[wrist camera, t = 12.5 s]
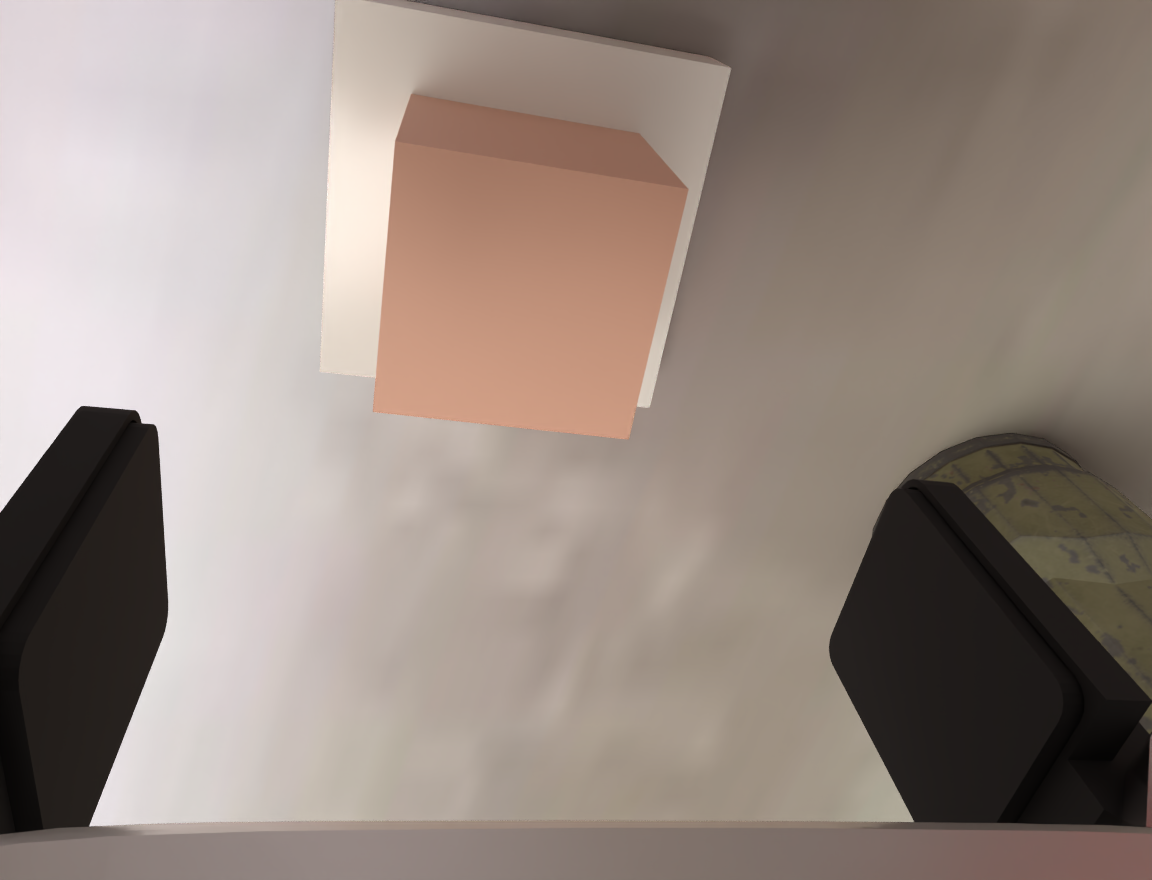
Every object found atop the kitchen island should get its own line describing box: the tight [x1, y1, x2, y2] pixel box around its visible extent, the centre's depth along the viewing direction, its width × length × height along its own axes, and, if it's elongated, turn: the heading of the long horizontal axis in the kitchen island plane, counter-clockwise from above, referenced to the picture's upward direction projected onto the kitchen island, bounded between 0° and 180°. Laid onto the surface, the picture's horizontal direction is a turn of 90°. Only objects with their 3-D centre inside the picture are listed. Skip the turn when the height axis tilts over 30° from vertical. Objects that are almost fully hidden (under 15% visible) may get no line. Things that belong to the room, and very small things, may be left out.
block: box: [320, 0, 731, 408], centre depth 26 cm, size 10×10×2 cm
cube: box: [373, 94, 689, 439], centre depth 22 cm, size 6×6×6 cm
